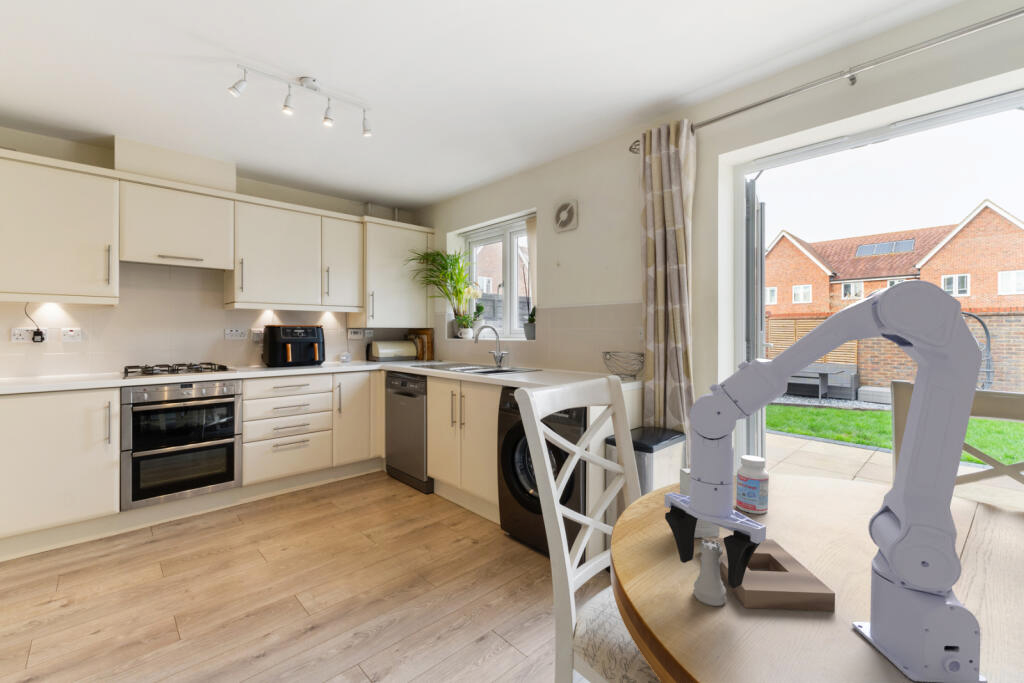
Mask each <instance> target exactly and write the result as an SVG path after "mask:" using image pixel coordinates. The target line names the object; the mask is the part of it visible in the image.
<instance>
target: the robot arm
mask: <svg viewBox="0 0 1024 683" xmlns="http://www.w3.org/2000/svg"><path fill="white" fill-rule="evenodd" d="M962 313H963V312H962V303H961V302H960V300H958V299H956V298H955V296H953V295H951V294H950V293H948V292H947V291H945V290H944V289H943V288H941V287H940V286H939V285H937V284H936V283H933V282H931V281H927V280H922V279H908V280H903V281H899V282H896V283H894V284H893V285H891V286H886V287H882V288H879V289H877V290H875V291H872V292H870V293H869V294H868V295H867V296H866V297H864V298H862V299H860V300H857V301H855V302H853V303H851V304H849V305H847V306H846V307H844V308H842V309H840V310H838V311H837V312H835V313H833V314H832V315H830V316H829V317H827V318H826V319H824V320H823V321H822V322H820V323H819V324H817V325H816V326H815V327H814V328H813V329H811V330H810V331H808V332H807V333H805V334H804V335H803V336H802V337H800V338H799V339H797V340H796V341H794V342H793V343H792V344H791V345H789V346H788V347H787V348H786V349H784V350H783V351H781V352H780V353H778V354H777V355H776V356H774V357H773V358H771V359H764V358H754V359H752V360H751V361H750V362H748V361H747V360H744V361H742V362H741V363H739V364H738V365H737V368H738V370H737V371H736V372H734V373H733V374H732V375H730V376H729V377H727V378H726V379H724V380H723V381H722V382H720V383H718V384H717V383H713V384H711V385H710V386H709V387H708V388H709V390H710V391H711V392H710V393H709V392H708V393H704V394H702V395H701V396H699V397H698V398H697V399H696V400H695V402H694V403H693V404H692V405H691V407H690V411H689V422H690V426H692V430H691V433H690V436H691V437H690V438H691V442H690V446H689V448H690V449H689V451H690V453H689V455H690V456H689V469H690V497H689V496H685V495H681V494H680V493H677V492H674V491H672V492H668V493H664V504H663V505H664V507H665V508H668V509H670V510H669V511H667V512H665V515H664V519H665V521H666V522H667V525H668V526H669V527H670V530H671V532H672V535H673V537H674V540H675V543H676V547H677V551H678V554H679V560H680V562H681V563H683V564H686V563H688V562H690V561H693V559H694V554H695V553H694V552H695V538H694V535H695V529H696V524H697V519H701V520H704V521H708V522H710V523H713V524H715V525H718V526H719V528H724V529H725V530H727V531H731V532H733V534H730V535H727V536H724V537H723V538H724V540H723V541H724V544H725V547H726V552H727V558H728V584H729V586H730V587H732V588H736V587H738V586H740V585H742V581H743V577H744V574H745V570H746V568H747V565H748V563H749V561H750V559H751V557H752V555H753V553H754V552H755V550H756V548H757V547H758V546H759V544H760V543H761V542H763V541H765V540H766V539H767V526H766V525H765V524H762V523H759V522H757V521H755V520H753V519H751V518H750V517H748V516H747V515H744V514H742V513H741V512H739V511H737V510H735V509H734V492H735V490H734V488H735V487H734V484H735V482H734V481H735V480H734V479H735V478H734V477H735V448H734V446H733V431H734V430H735V428H736V425H737V421H738V420H746V419H748V418H749V417H751V416H753V415H754V414H756V413H757V412H759V411H760V410H762V409H763V408H765V407H766V406H767V405H769V404H771V403H773V402H774V401H775V400H777V399H778V398H780V397H781V396H783V395H785V394H786V393H787V391H788V384H789V383H788V382H789V379H790V378H791V377H793V376H794V375H797V374H798V373H799V372H801V371H802V370H804V369H806V368H807V367H809V366H810V365H812V364H814V363H816V362H817V361H818V360H820V359H822V358H823V357H825V356H827V355H828V354H829V353H831V352H833V351H835V350H836V349H838V348H839V347H841V346H843V345H844V344H846V343H848V342H853V341H859V340H865V339H866V340H867V339H871V338H879V337H882V338H884V339H885V340H888V341H890V342H891V343H894V344H895V345H897V346H898V348H900V349H901V350H902V351H903V352H904V353H905V354H906V355H907V356H908V357H909V358H910V359H911V360H913V362H914V363H916V364H917V368H916V369H917V370H916V372H915V379H914V384H913V388H912V393H911V397H910V402H909V407H908V413H907V418H906V422H905V427H904V430H903V436H902V441H901V446H900V451H899V456H898V461H897V466H896V469H895V470H896V471H895V476H894V480H893V484H892V487H891V488H890V490H888V492H887V493H885V495H884V497H883V500H882V504H881V507H880V508H879V510H877V512H875V513H874V514H873V515H872V516H871V518H870V519H869V522H868V533H869V536H870V539H871V540H872V541H873V543H874V544H875V545H876V546H877V547H878V550H877V552H876V554H875V556H874V557H873V558H872V560H871V564H870V566H871V567H870V568H871V570H870V576H871V577H870V615H869V616H870V618H869V620H870V621H852V627H853V628H854V629H855V630H856V631H858V633H860V635H862V636H863V637H864V638H865V639H866V640H867V641H868V642H870V643H871V644H872V646H874V648H876V649H877V650H878V651H879V652H880V653H881V654H882V655H883V656H885V657H886V659H888V660H889V661H890V662H891V663H892V664H893V665H894V666H895V667H897V668H898V669H899V670H900V671H901V672H902V673H903V674H904V675H905V676H906V677H907V678H908V679H910V680H912V681H914V682H921V683H923V682H925V683H988V679H987V678H986V677H985V676H984V675H983V674H980V668H981V667H980V666H981V665H980V660H981V627H980V624H979V621H978V620H977V617H976V616H975V615H974V613H972V612H971V611H970V610H969V609H968V608H967V607H965V605H963V603H962V602H961V601H960V600H959V599H958V598H957V596H956V594H955V592H954V589H953V586H954V585H956V584H957V583H958V581H959V580H960V578H961V576H962V564H961V563H962V562H961V560H960V558H959V555H958V552H957V550H956V549H957V548H956V542H957V537H958V533H957V528H956V525H955V522H954V521H955V520H954V518H953V515H952V510H951V503H952V500H953V494H954V490H955V485H956V482H957V481H956V480H957V478H958V472H959V468H960V463H961V459H962V453H963V449H964V444H965V441H966V440H965V439H966V436H967V430H968V426H969V423H970V419H971V418H970V417H971V412H972V409H973V403H974V399H975V393H976V389H977V386H978V381H979V378H980V377H979V376H980V372H981V367H982V363H983V353H982V350H981V348H980V347H979V344H978V342H977V341H976V339H975V336H974V335H973V333H972V332H971V330H970V327H969V326H968V323H966V320H965V318H964V316H963V314H962ZM729 586H728V587H729Z"/></svg>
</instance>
